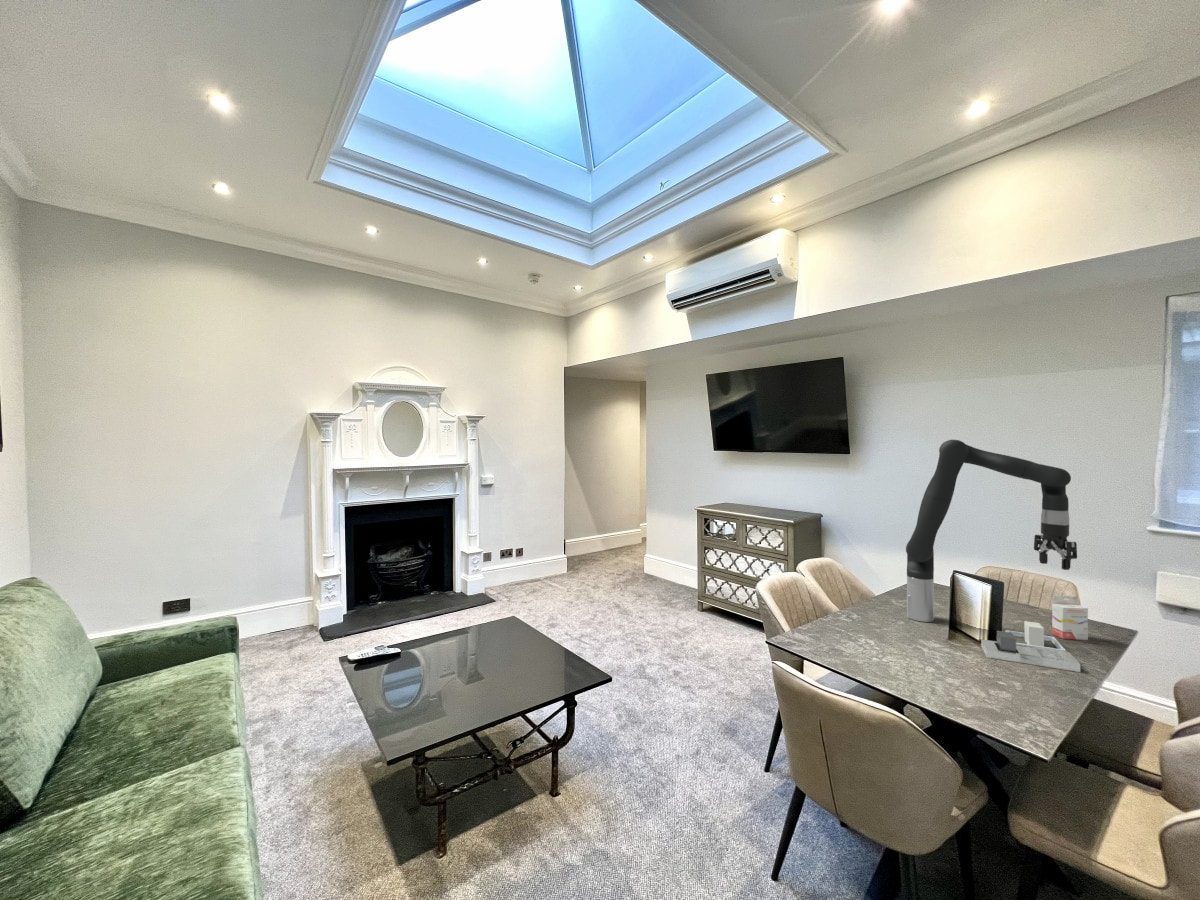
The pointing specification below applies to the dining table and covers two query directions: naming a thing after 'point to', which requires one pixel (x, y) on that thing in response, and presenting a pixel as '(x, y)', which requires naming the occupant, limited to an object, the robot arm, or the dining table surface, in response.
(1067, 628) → the ink cartridge box
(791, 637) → the dining table surface
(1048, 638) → the tray
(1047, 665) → the grey fixture base
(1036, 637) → the plug
